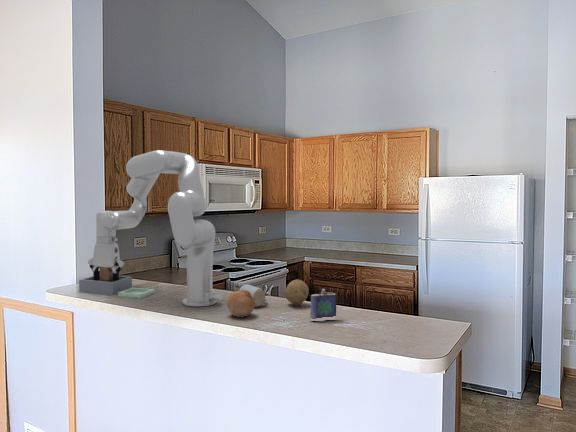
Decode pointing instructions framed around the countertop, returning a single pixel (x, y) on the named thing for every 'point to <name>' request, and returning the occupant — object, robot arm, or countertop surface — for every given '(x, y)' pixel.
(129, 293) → the tray
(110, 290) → the deep bin
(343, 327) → the countertop surface
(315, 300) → the flask
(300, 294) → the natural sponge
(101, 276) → the walnut cylinder
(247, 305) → the onion
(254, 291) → the ceramic mug
